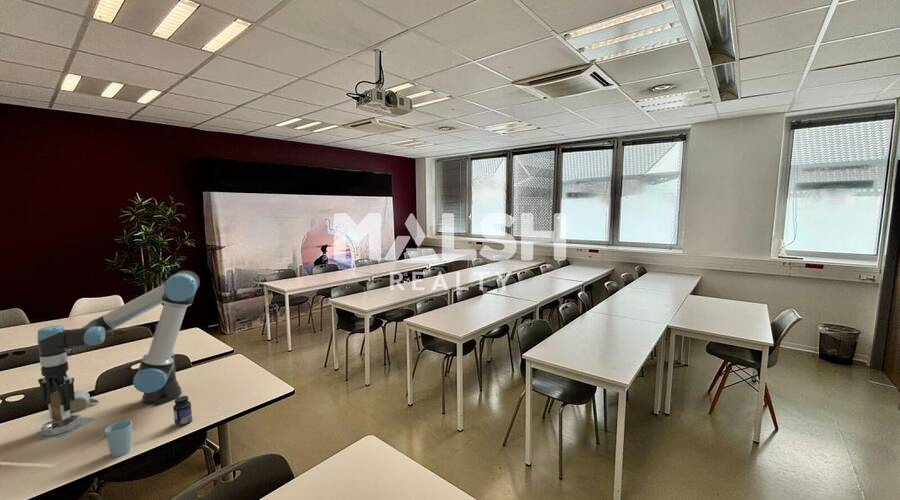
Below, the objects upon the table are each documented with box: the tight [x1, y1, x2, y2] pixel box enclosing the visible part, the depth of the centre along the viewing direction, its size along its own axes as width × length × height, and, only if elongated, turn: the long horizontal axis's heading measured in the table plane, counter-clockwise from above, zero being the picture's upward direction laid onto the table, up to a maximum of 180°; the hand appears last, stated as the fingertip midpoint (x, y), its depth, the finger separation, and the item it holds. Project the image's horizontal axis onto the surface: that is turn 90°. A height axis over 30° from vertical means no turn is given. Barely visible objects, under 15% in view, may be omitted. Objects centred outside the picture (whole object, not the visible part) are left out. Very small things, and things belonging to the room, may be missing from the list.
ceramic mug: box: [70, 390, 100, 413], centre depth 169 cm, size 11×8×8 cm
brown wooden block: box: [50, 390, 69, 422], centre depth 151 cm, size 2×4×12 cm, turn 86°
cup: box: [104, 420, 133, 458], centre depth 137 cm, size 8×8×10 cm
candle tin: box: [40, 413, 82, 436], centre depth 152 cm, size 11×11×3 cm
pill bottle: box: [172, 395, 193, 427], centre depth 156 cm, size 6×6×11 cm
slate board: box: [32, 416, 98, 438], centre depth 153 cm, size 13×14×1 cm
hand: (60, 417), depth 152 cm, fingers closed on brown wooden block, 4 cm apart
